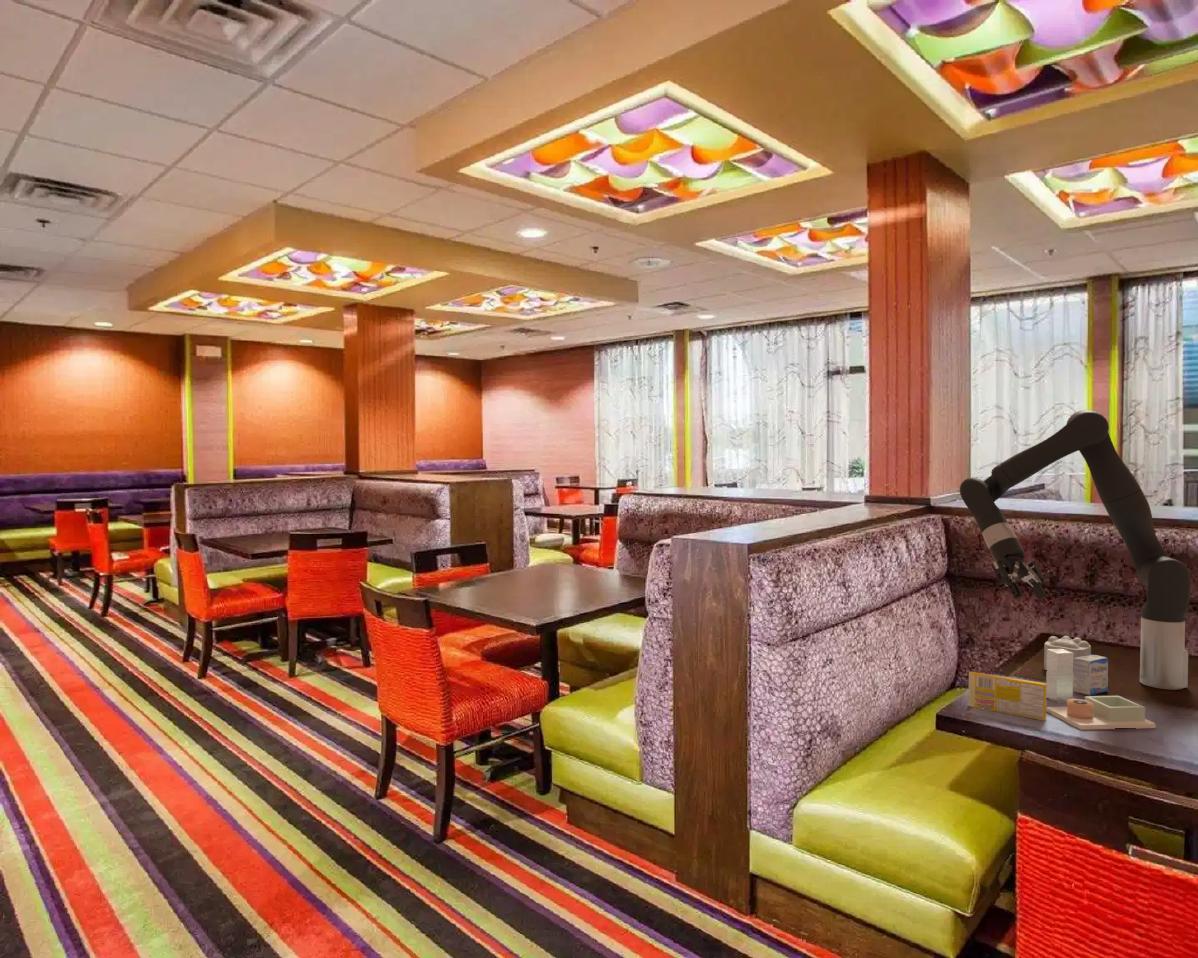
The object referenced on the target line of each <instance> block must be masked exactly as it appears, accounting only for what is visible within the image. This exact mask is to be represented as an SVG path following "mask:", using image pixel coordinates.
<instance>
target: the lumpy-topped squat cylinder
mask: <svg viewBox="0 0 1198 958" xmlns="http://www.w3.org/2000/svg"><path fill="white" fill-rule="evenodd" d="M1047 649H1064V650H1067V651H1069V652H1072V653H1073V658H1077V657H1082V656H1087V655H1092V646H1091V645H1090V643H1089V642H1088V641H1086V640H1082V638H1080V637H1074V638H1073V639H1072V638H1071V637H1070V636H1069V635H1064V636H1062V637H1061V638H1058V637H1057V636H1054V635H1052V636H1050V637H1048V640H1047V641H1045V642H1044V650H1043V651H1044V653H1043V661H1044V662H1043V670H1045V671H1046V670H1047Z"/></svg>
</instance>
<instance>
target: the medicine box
mask: <svg viewBox="0 0 1198 958" xmlns="http://www.w3.org/2000/svg"><path fill="white" fill-rule="evenodd" d="M1108 681H1109V658H1108V657H1106V656H1101V655H1098V654H1091V655H1087V656H1082V657H1077V658H1073V693H1077V694H1081V695H1082V694H1083V695H1086V696H1096V695H1098V694H1102V693H1105V692H1108V689H1109V688H1108V686H1109V685H1108V684H1109V683H1108Z"/></svg>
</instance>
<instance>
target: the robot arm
mask: <svg viewBox="0 0 1198 958" xmlns="http://www.w3.org/2000/svg"><path fill="white" fill-rule="evenodd" d="M1109 429H1110V426H1109V422H1108V420H1107V419H1106V417H1105V416H1104V415H1103V414H1102V413H1099V412H1098V411H1095V410H1092V409H1081V410H1079V411H1075V412H1074V413H1073V414H1071V415H1070V417H1069V418H1068V419H1067V421H1066V424H1065V425H1064V426H1063V427H1061V428H1060V429H1059V430H1057V432H1056V433H1054V434H1052V435H1051V436H1049V437H1047V438H1046V439H1045V440H1043V441H1041V442H1038V443H1036V444H1035V445H1033V446H1032V445H1031V447H1029V448H1026V449H1024V450H1022V451H1020V452H1018V453H1016V454H1015V455H1013V456H1011V457H1010V458H1008V459H1006V460H1004V461H1002V462H1001V463H999V464H997V465H996V466H994V467H993V468H992V469H991V472H990V473H991V474H990V476H988V477H987V478H986V479H985V480H982V479H980V478H979V477H968V478H965V479H964V480H963V481H962V482H961V483H960V486H959V494H960V497H961V499H962V501H963V503H964V504H965V506H966V508H967V509H968V511H969V512H970V513H971V515H972V516H973V518H974V519H975V522H976V525H977V526H978V529H979V531H980V533H981V535H982V536H983V540H984V542H985V544H986V547H987V548H988V550H989V552H990V555H991V556H992V559H993V560H994V562H993V563H991V567H992V571H993V572H994V574H995V576H996V579H997V580H998V583H999V584H1000V585H1003V584H1004V585H1005V586H1006V587H1008V590H1009V591H1010V593H1011V595H1012V596H1013V599H1015V600H1019V599H1021V598H1022V597H1023V596H1024V594H1023V592H1022V590H1021V588H1020V586H1019V584H1018V583H1017V582H1016V581H1017V579H1019V580H1020V579H1021V580H1022V582H1024V583H1027V584H1028V585H1030V586H1031V589H1032V591H1033V592H1034V594H1035V597H1036V598H1037V599H1038V600H1039V601H1040V600H1044V599H1045V598H1046V597H1047V594H1046V592H1045V589H1044V588H1043V585H1042V583H1043V582H1045V581H1046V579H1045V577H1044V575H1043V574H1042V572H1041V571H1040V568H1039V566H1038V565H1037V563H1036V562H1035V560H1034V561H1030V562H1027V561H1026V560H1025V559H1024V557H1025V550H1024V548H1023V546H1022V545H1021V542H1020V540H1019V539H1018V537H1017V535H1016V533H1015V532H1014V530H1013V528H1012V527H1011V525H1010V524H1009V522H1008V521H1007V519H1006V517H1005V515H1004V513H1003V512H1002V510H1001V509H1000V507H998V506H997V504H996V503H995V502H996V501H998V499H1000V498H1001V497H1003V495H1004V494H1005V493H1007V491H1008V490H1010V489H1011V488H1013V487H1015V486H1017V485H1019V484H1020V483H1022V482H1024V481H1025V480H1027V479H1029V478H1031V477H1032V476H1033V475H1035V474H1037V473H1038V472H1040V471H1042V470H1043V469H1045V468H1046V467H1048V466H1050V465H1052V464H1053V463H1056V462H1058V460H1059V461H1060V460H1061V459H1063V458H1065V457H1066V456H1069V455H1071V454H1074V453H1076V452H1078V451H1079V453H1080V454H1081V456H1082V457H1083V459H1084V461H1085V463H1086V465H1087V467H1088V470H1089V472H1090V475H1091V479H1092V481H1093V484H1094V487H1095V489H1096V491H1097V494H1098V496H1099V499H1100V501H1101V502H1102V504H1103V507H1104V508H1105V510H1106V513H1107V514H1108V517H1110V519H1111V521H1112V524H1113V525H1114V527H1115V530H1116V531H1117V532H1118V534H1119V536H1120V537H1121V539H1122V541H1123V542H1124V544H1125V546H1126V548H1127V550H1128V552H1129V555H1130V557H1131V561H1132V563H1133V566H1134V569H1135V572H1136V574H1137V577H1138V579H1139V581H1140V582H1141V583H1142V584H1143V585H1144V586H1145V587H1147V592H1146V593H1147V595H1146V601H1145V604H1143V605H1142V606H1141V610H1140V648H1139V649H1140V653H1139V656H1140V657H1139V665H1140V666H1139V683H1141V684H1142V685H1144V686H1147V687H1151V688H1156V689H1163V690H1171V691H1172V690H1173V691H1174V690H1175V691H1177V690H1182V689H1184V688H1188V686H1189V685H1188V681H1189V679H1188V675H1189V650H1187V649H1185V648H1186V647H1185V645H1186V642H1185V640H1186V614H1187V612H1189V611H1188V610H1189V606H1190V599H1191V597H1190V596H1191V575H1190V571H1189V568H1188V567H1187V566H1186V564H1184V563H1183V562H1182V561H1179V560H1178V559H1175V558H1171V557H1170V556H1169V555H1168V553H1167V552H1166V550H1165V549H1164V547H1163V546H1162V544H1161V541H1160V540H1159V539H1158V536H1157V534H1156V532H1155V528H1154V521H1153V515H1152V510H1151V507H1150V503H1149V502H1148V500H1147V497H1146V495H1145V494H1144V491H1143V489H1142V488H1141V486H1140V484H1139V481H1137V479H1136V478H1135V476H1134V475H1133V473H1132V472H1131V470H1130V469H1129V468H1128V466H1127V465H1126V464H1125V462H1124V461H1123V460H1122V459H1121V457H1120V455H1119V454H1118V452H1117V450H1116V448H1115V446H1114V443H1113V441H1112V439H1111V436H1110V433H1109Z"/></svg>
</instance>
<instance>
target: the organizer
mask: <svg viewBox="0 0 1198 958" xmlns="http://www.w3.org/2000/svg"><path fill="white" fill-rule="evenodd" d="M1046 713H1047V714H1050V713H1051V714H1050V715H1052V716H1053V717H1056V718H1058V719H1060V720H1061V721H1064V722H1065V723H1067V724H1068V725H1071V726H1073V727H1075V728H1076V729H1078V730H1081V731H1082V730H1087V731H1088V730H1116V729H1115V728H1136V729H1156V728H1157V727H1156V722H1153V721H1151V720H1149V719H1147V718H1146V706H1143V705H1141V704H1139V703H1137V702H1134V701H1132V700H1129V699H1128V698H1125V697H1123V696H1120V695H1091V696H1089V695H1086V696H1084V699H1079V698H1073V699H1068V700H1067V702H1066V706H1046Z"/></svg>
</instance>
